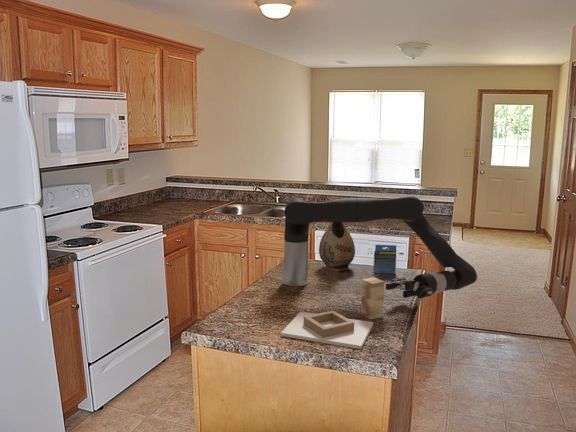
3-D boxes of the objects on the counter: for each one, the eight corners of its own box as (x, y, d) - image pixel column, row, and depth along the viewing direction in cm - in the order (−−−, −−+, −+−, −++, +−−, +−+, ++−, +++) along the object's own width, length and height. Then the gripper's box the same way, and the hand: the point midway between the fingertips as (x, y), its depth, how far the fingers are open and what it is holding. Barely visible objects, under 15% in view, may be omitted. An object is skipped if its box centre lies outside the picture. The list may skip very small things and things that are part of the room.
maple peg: (360, 314, 166) (362, 279, 164) (372, 311, 169) (374, 277, 167) (370, 319, 162) (372, 283, 160) (382, 316, 165) (384, 281, 162)
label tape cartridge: (394, 271, 215) (395, 243, 212) (395, 274, 211) (397, 245, 208) (373, 270, 215) (374, 242, 213) (373, 273, 212) (375, 244, 209)
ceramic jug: (317, 263, 225) (319, 196, 220) (352, 263, 225) (355, 197, 219) (319, 274, 209) (320, 202, 203) (356, 275, 208) (359, 203, 203)
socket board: (280, 335, 149) (281, 324, 148) (300, 314, 165) (300, 304, 165) (361, 349, 141) (361, 337, 140) (373, 325, 157) (373, 314, 157)
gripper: (416, 268, 182) (381, 274, 174) (446, 278, 170) (410, 286, 162) (414, 287, 184) (380, 294, 176) (444, 300, 172) (409, 308, 164)
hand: (394, 290), depth 169 cm, fingers open, 8 cm apart
